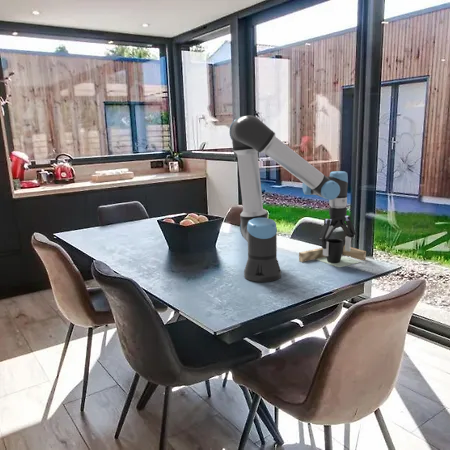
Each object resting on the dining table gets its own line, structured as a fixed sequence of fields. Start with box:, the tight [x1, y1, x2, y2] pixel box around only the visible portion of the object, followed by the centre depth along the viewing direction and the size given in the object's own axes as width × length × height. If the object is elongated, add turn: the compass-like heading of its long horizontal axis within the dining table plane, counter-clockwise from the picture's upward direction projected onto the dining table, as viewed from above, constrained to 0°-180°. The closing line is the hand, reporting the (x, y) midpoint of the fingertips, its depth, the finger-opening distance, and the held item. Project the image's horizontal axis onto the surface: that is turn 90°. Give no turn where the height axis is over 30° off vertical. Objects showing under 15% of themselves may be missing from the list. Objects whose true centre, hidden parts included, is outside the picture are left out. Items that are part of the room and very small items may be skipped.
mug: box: [326, 238, 345, 263], centre depth 194 cm, size 8×12×10 cm
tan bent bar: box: [298, 244, 367, 263], centre depth 196 cm, size 26×16×4 cm, turn 120°
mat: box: [314, 255, 361, 268], centre depth 195 cm, size 13×15×1 cm
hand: (336, 253), depth 194 cm, fingers open, 13 cm apart
